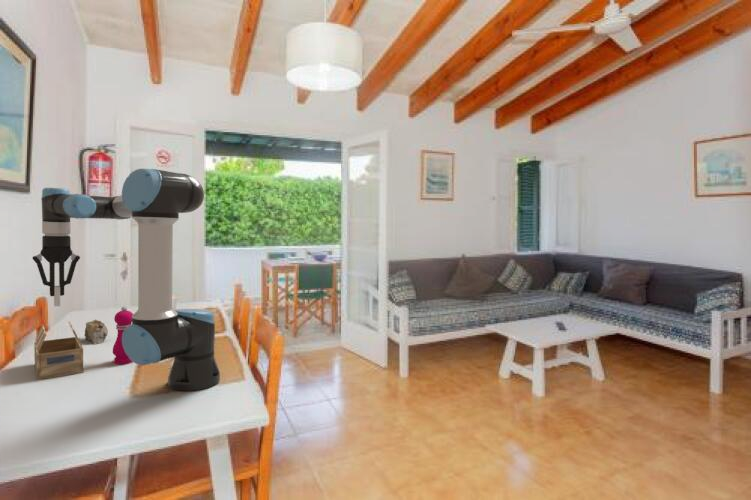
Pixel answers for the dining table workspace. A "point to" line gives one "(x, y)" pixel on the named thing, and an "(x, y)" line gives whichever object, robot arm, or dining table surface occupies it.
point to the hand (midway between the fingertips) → (57, 305)
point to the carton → (58, 358)
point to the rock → (96, 331)
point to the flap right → (74, 333)
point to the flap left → (40, 338)
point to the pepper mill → (122, 322)
